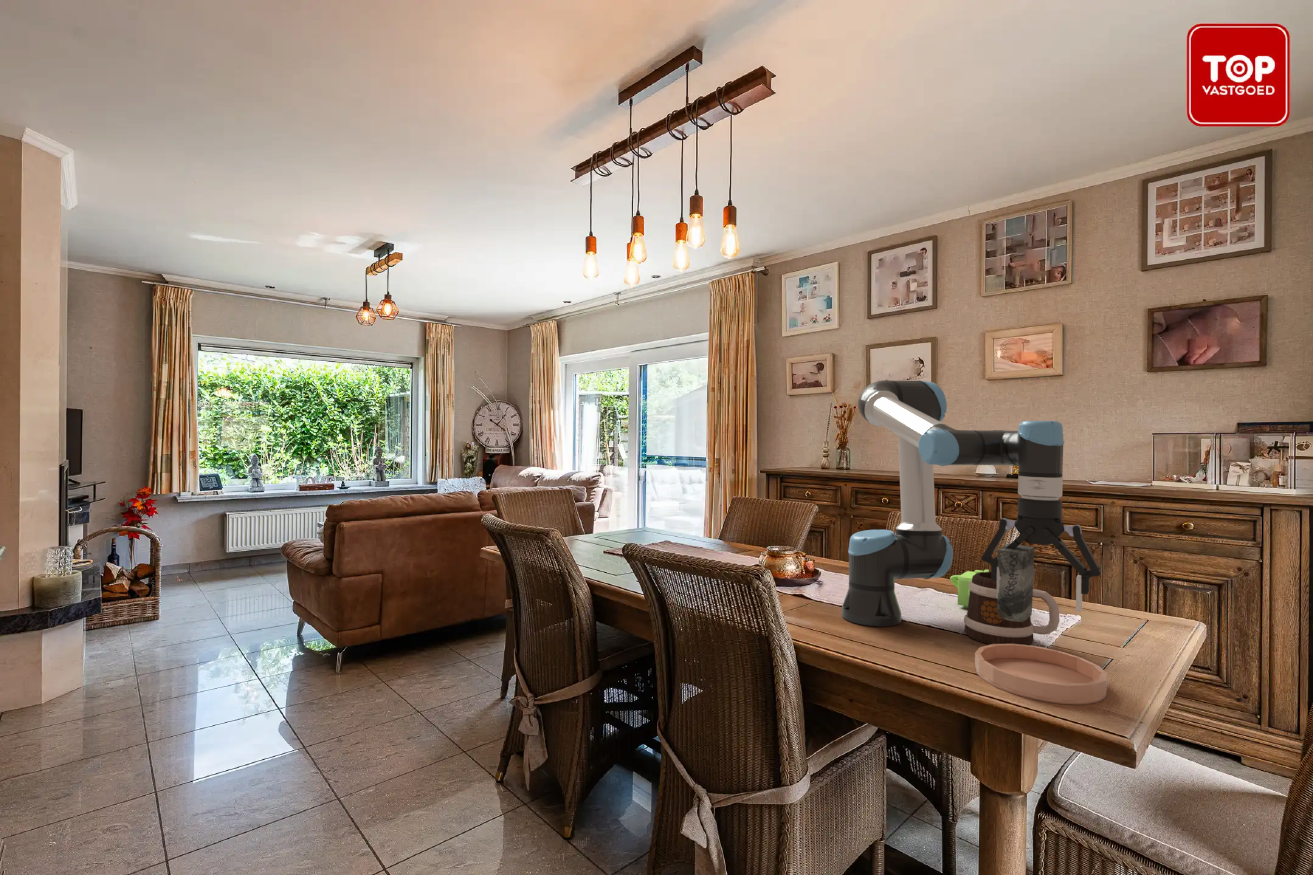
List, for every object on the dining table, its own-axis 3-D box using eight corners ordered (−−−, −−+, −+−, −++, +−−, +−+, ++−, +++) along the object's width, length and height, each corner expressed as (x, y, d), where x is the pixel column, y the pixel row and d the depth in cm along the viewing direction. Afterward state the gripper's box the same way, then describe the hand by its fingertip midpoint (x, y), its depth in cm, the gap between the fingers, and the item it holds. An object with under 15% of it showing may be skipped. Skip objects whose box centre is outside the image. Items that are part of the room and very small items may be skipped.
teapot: (970, 615, 165) (970, 576, 165) (940, 602, 178) (940, 566, 178) (1020, 613, 167) (1020, 575, 167) (987, 600, 181) (987, 565, 181)
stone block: (994, 619, 122) (1024, 625, 118) (994, 548, 122) (1024, 551, 118) (1006, 610, 128) (1034, 615, 125) (1006, 543, 128) (1034, 546, 125)
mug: (958, 640, 145) (959, 577, 145) (968, 624, 157) (968, 566, 157) (1058, 658, 133) (1058, 590, 133) (1060, 639, 146) (1060, 577, 146)
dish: (964, 682, 120) (964, 664, 120) (988, 652, 136) (988, 636, 136) (1102, 715, 105) (1102, 695, 105) (1110, 677, 122) (1110, 660, 122)
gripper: (967, 494, 126) (965, 595, 126) (1116, 504, 110) (1114, 620, 110) (975, 491, 132) (973, 588, 132) (1118, 501, 116) (1116, 611, 116)
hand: (1037, 603), depth 121 cm, fingers open, 13 cm apart
